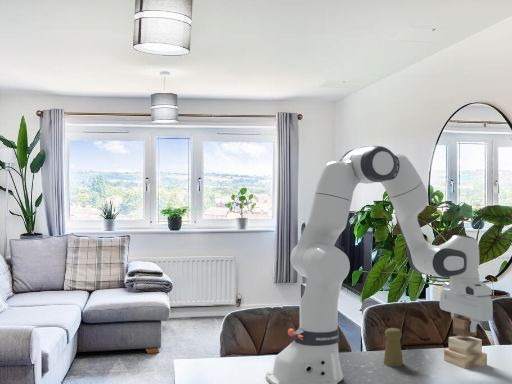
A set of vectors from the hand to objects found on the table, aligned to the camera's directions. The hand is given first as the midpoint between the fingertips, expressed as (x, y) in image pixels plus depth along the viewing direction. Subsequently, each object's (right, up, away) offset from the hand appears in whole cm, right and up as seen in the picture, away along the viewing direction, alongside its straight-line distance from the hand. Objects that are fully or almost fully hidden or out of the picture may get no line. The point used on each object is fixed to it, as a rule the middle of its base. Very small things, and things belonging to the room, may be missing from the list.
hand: (464, 329), depth 175 cm
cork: (-23, -11, -1) cm, 25 cm away
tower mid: (0, -7, 0) cm, 7 cm away
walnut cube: (0, -2, 0) cm, 2 cm away
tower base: (0, -11, 0) cm, 11 cm away
